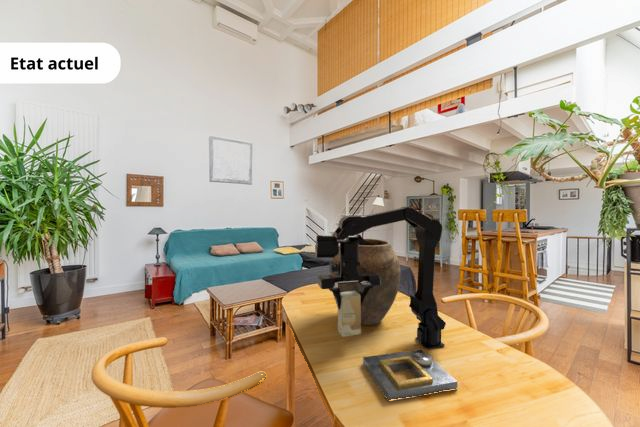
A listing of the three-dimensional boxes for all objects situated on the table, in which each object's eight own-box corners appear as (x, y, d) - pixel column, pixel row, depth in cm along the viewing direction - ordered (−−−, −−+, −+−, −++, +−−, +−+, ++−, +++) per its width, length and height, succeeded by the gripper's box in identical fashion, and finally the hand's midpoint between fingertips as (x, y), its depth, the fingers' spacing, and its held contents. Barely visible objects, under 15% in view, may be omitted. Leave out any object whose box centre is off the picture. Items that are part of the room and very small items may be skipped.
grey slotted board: (420, 356, 81) (421, 345, 81) (457, 389, 66) (457, 377, 66) (363, 364, 77) (363, 353, 77) (388, 402, 62) (388, 389, 62)
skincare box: (342, 337, 82) (340, 297, 82) (337, 330, 87) (336, 292, 86) (362, 333, 84) (361, 294, 83) (356, 327, 88) (355, 289, 88)
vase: (322, 328, 99) (321, 244, 98) (340, 303, 124) (340, 236, 122) (398, 340, 90) (399, 248, 89) (401, 310, 115) (402, 238, 114)
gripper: (367, 251, 94) (367, 296, 95) (313, 253, 90) (313, 301, 91) (382, 257, 83) (381, 308, 84) (321, 260, 79) (321, 314, 80)
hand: (349, 307), depth 85 cm, fingers closed on skincare box, 6 cm apart
